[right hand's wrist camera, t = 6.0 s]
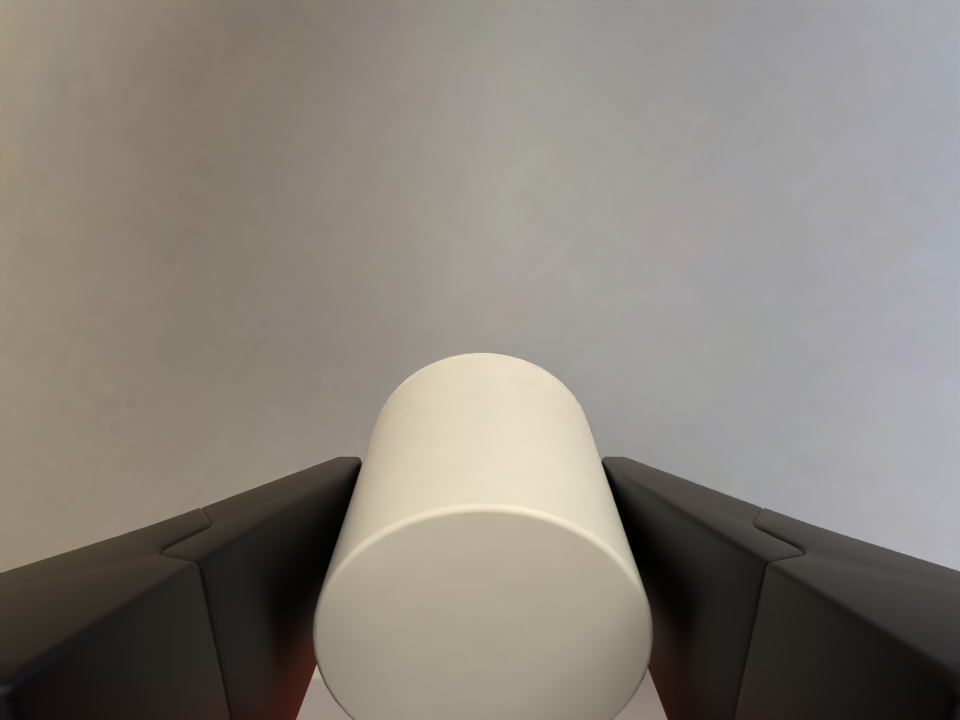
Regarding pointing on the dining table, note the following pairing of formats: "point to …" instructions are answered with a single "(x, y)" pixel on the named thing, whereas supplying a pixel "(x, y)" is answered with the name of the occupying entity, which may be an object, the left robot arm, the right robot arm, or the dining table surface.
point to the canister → (482, 559)
